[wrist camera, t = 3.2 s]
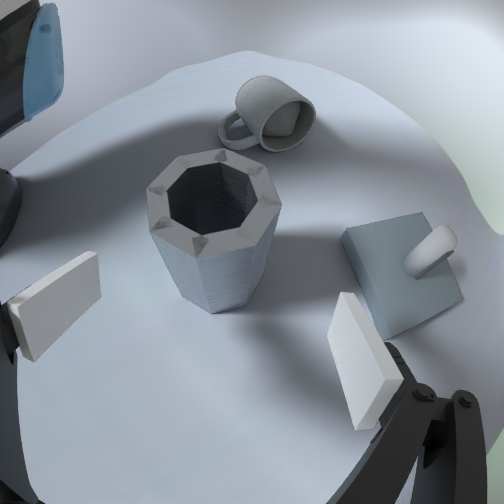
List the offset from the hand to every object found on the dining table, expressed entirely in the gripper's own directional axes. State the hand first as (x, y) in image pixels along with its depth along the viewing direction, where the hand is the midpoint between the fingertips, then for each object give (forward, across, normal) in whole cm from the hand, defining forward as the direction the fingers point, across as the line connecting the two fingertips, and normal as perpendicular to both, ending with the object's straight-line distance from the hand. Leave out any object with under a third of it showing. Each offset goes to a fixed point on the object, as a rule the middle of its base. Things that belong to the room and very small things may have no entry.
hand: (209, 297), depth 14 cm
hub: (+11, -1, -3) cm, 11 cm away
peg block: (+12, +18, -1) cm, 22 cm away
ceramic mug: (+24, +1, +10) cm, 26 cm away
